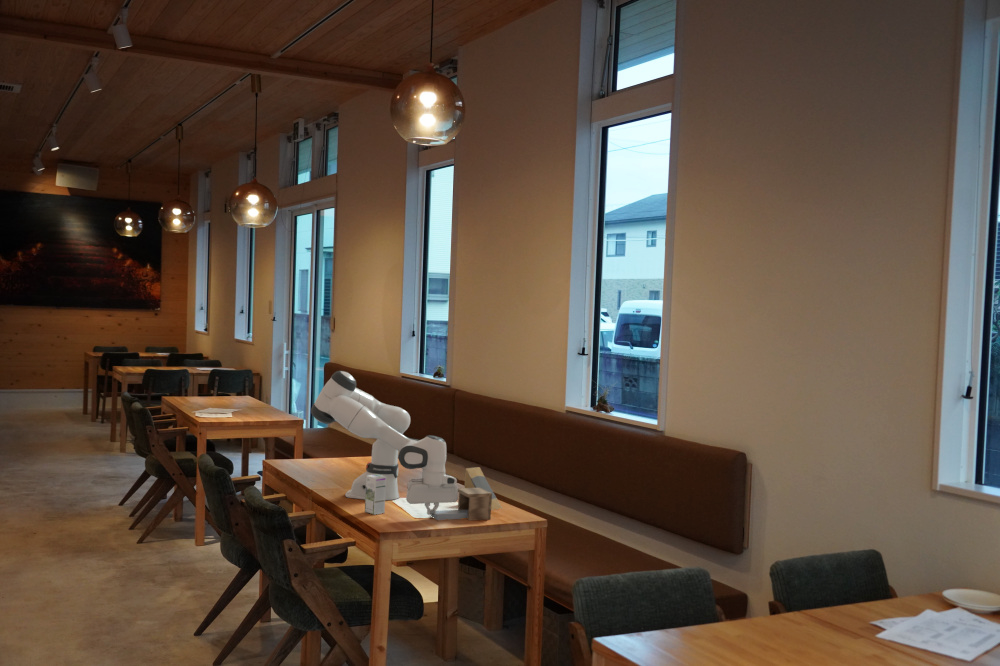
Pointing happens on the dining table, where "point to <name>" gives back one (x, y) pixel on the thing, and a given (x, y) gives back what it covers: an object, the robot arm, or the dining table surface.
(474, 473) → the sandwich container
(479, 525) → the dining table surface
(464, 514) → the panel
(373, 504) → the syrup box
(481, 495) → the open wooden box
